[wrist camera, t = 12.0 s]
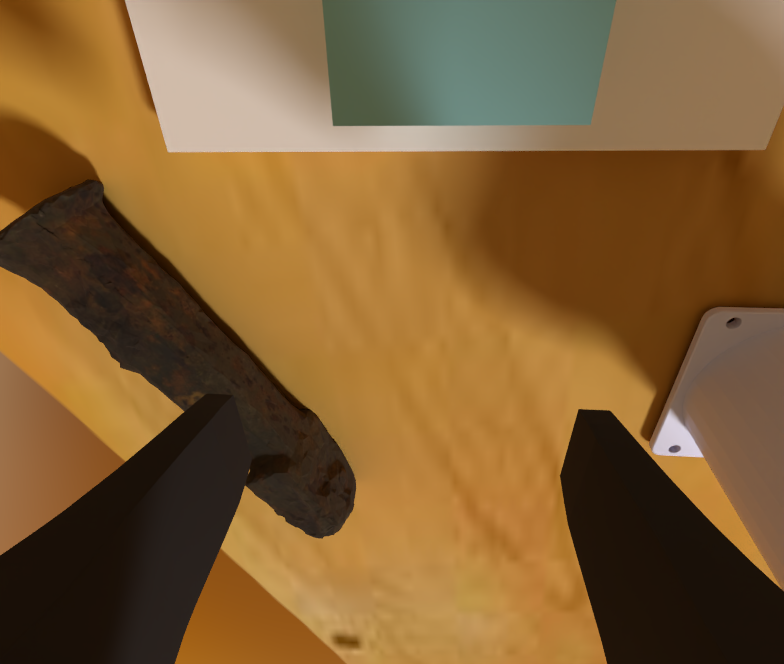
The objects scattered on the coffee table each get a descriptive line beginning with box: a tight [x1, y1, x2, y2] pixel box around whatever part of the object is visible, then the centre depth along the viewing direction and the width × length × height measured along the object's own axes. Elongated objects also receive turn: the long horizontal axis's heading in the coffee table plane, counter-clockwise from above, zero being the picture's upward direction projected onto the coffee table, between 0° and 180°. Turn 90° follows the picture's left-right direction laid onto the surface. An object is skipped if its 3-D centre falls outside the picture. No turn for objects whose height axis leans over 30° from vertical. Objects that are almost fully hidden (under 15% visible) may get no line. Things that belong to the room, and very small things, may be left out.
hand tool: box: [0, 180, 356, 538], centre depth 20 cm, size 19×4×5 cm, turn 31°
